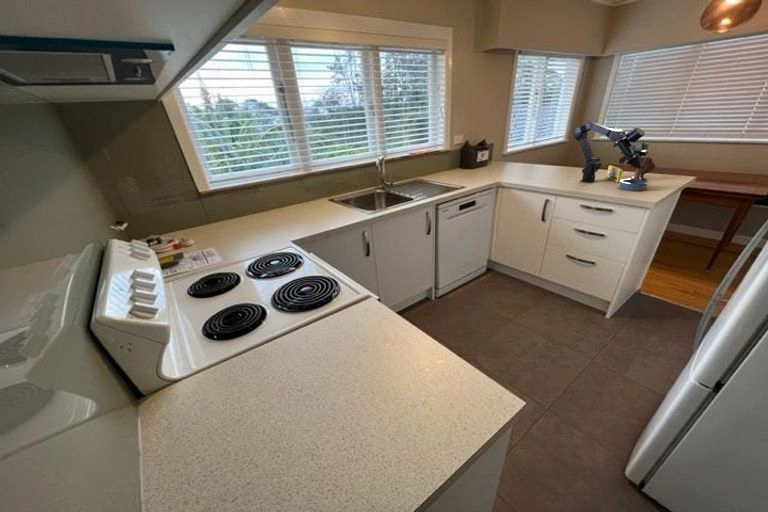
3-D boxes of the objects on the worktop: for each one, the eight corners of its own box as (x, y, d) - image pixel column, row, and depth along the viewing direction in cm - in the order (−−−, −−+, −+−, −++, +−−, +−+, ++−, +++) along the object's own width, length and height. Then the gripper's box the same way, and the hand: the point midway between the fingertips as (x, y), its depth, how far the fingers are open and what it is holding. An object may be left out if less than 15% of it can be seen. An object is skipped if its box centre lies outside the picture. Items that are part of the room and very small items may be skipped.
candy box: (605, 177, 213) (608, 165, 209) (609, 177, 213) (612, 165, 209) (616, 182, 199) (619, 169, 195) (620, 182, 198) (623, 169, 195)
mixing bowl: (613, 188, 186) (615, 181, 184) (626, 185, 191) (628, 178, 189) (638, 192, 175) (640, 185, 173) (650, 188, 180) (653, 181, 178)
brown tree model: (655, 180, 195) (663, 157, 188) (638, 182, 195) (644, 158, 189) (643, 177, 204) (650, 154, 197) (626, 178, 205) (632, 156, 198)
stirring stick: (631, 179, 180) (637, 157, 174) (631, 178, 183) (637, 156, 177) (640, 180, 177) (647, 157, 172) (640, 178, 181) (647, 156, 175)
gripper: (630, 139, 170) (646, 161, 166) (649, 136, 177) (665, 157, 172) (612, 153, 180) (627, 174, 176) (631, 149, 187) (645, 169, 182)
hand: (641, 168), depth 176 cm, fingers closed on stirring stick, 2 cm apart
